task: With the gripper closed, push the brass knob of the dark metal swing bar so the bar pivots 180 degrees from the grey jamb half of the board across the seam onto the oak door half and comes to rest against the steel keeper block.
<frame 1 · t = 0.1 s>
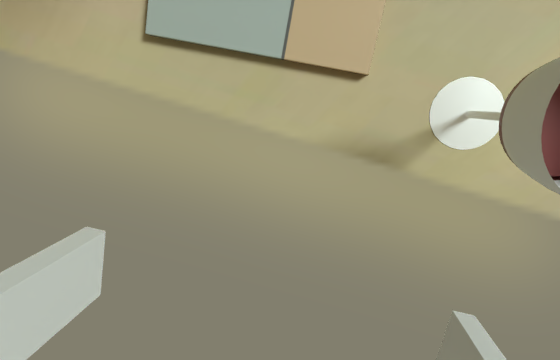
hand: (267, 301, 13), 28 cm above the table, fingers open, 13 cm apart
wineglass: (466, 113, 37), on the table
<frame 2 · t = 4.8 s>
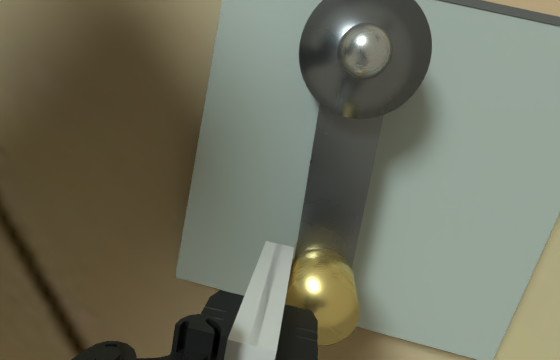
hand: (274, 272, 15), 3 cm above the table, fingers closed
swing bar: (341, 167, 13), point 3 cm above the table, hinge at 5.1°, touching gripper
door board: (398, 73, 16), on the table
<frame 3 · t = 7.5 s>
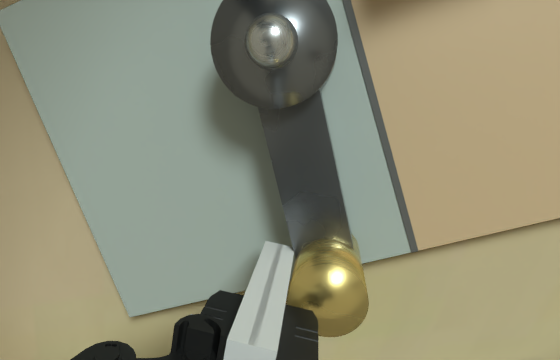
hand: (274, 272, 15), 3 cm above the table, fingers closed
swing bar: (300, 156, 13), point 3 cm above the table, hinge at 85.5°, touching gripper
door board: (300, 99, 16), on the table
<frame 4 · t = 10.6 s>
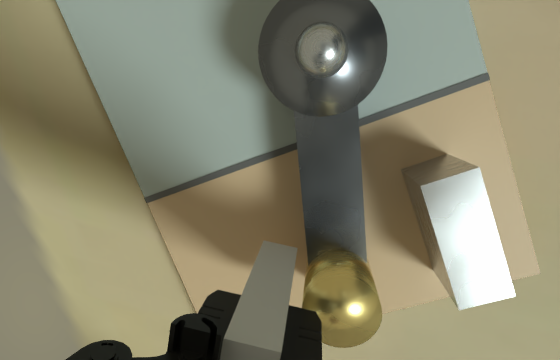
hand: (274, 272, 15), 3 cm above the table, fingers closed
swing bar: (329, 166, 14), point 3 cm above the table, hinge at 165.2°
keeper: (431, 206, 17), resting on door board
door board: (280, 80, 16), on the table
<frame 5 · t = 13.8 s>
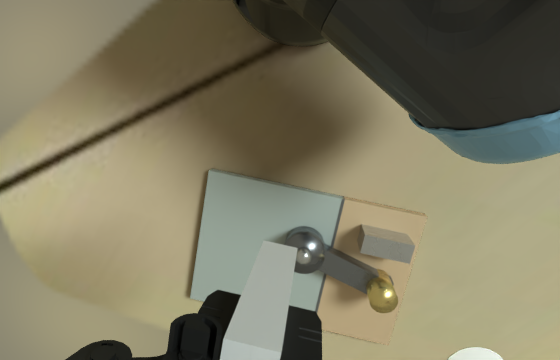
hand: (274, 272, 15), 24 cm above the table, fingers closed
swing bar: (338, 269, 37), point 3 cm above the table, hinge at 165.2°
keeper: (380, 233, 40), resting on door board
door board: (301, 255, 41), on the table
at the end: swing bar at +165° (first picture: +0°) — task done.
